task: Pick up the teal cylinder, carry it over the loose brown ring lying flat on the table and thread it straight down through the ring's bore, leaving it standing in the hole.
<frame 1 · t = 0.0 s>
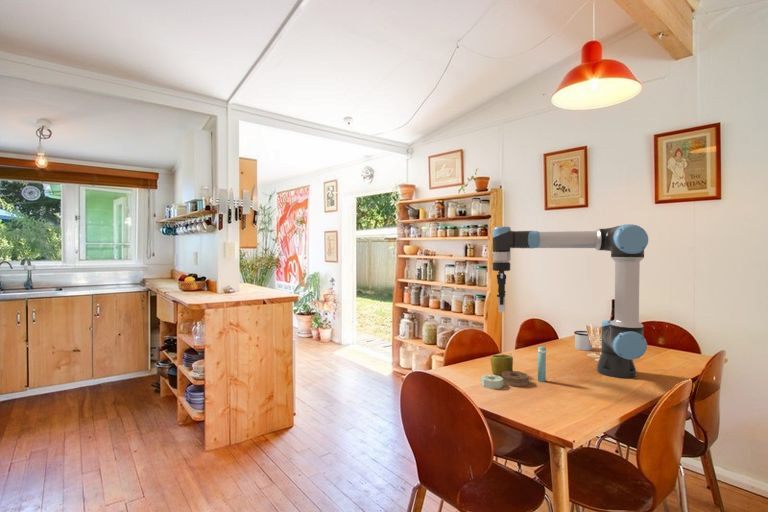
hand: (501, 309, 178), 28 cm above the table, fingers open, 13 cm apart
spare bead: (491, 385, 163), on the table
teal cylinder: (541, 380, 168), on the table
mug: (501, 373, 179), on the table
mug 2: (584, 349, 221), on the table
brown ring: (514, 382, 166), on the table
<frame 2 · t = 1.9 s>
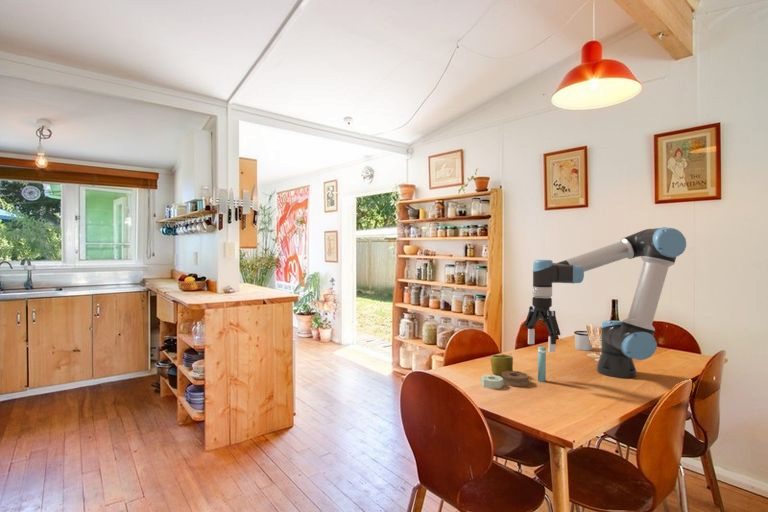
hand: (541, 347, 168), 14 cm above the table, fingers open, 13 cm apart
nothing on the table moved.
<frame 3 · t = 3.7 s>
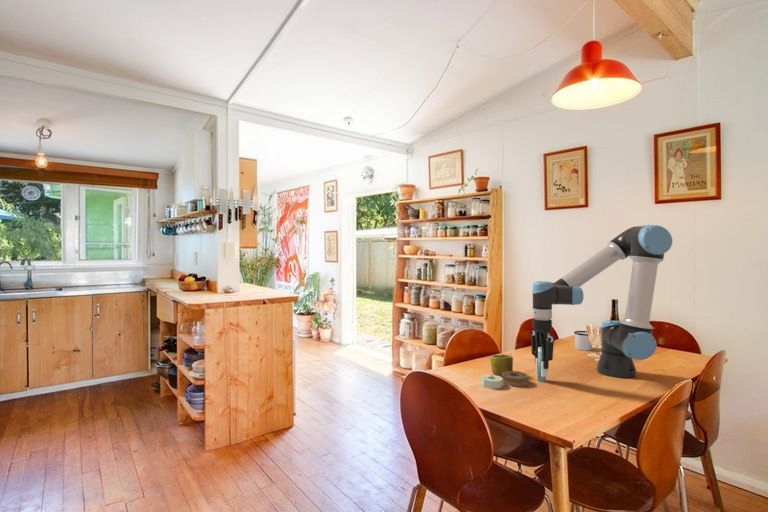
hand: (541, 374, 168), 3 cm above the table, fingers closed on teal cylinder, 3 cm apart
teal cylinder: (541, 380, 168), on the table, touching gripper
everything else where it was.
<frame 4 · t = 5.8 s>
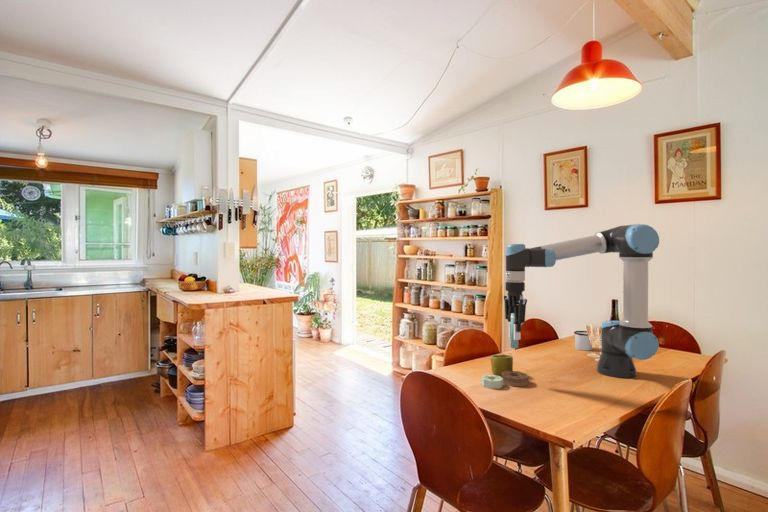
hand: (514, 338, 166), 18 cm above the table, fingers closed on teal cylinder, 3 cm apart
teal cylinder: (514, 347, 166), point 14 cm above the table, touching gripper
everything else where it was.
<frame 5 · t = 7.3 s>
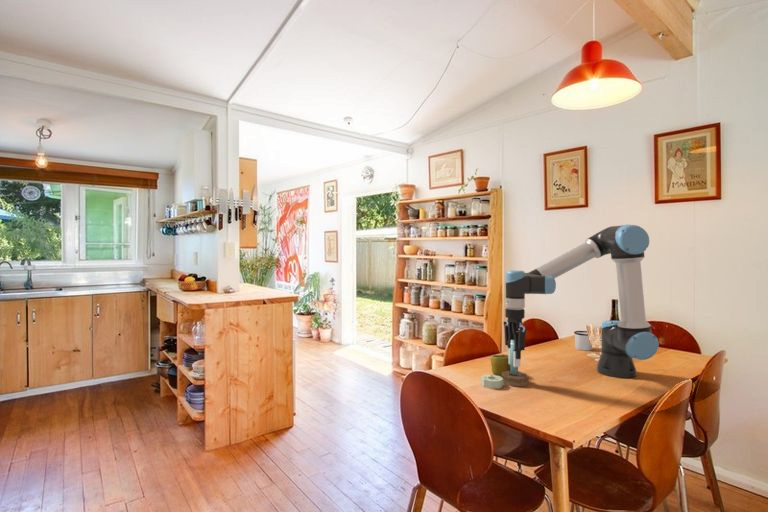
hand: (514, 365, 166), 7 cm above the table, fingers closed on teal cylinder, 3 cm apart
teal cylinder: (514, 374, 166), point 3 cm above the table, touching gripper
everything else where it was.
when the fingers open (5 cm above the table, at t = 7.9 s): teal cylinder stays where it is, resting in brown ring.
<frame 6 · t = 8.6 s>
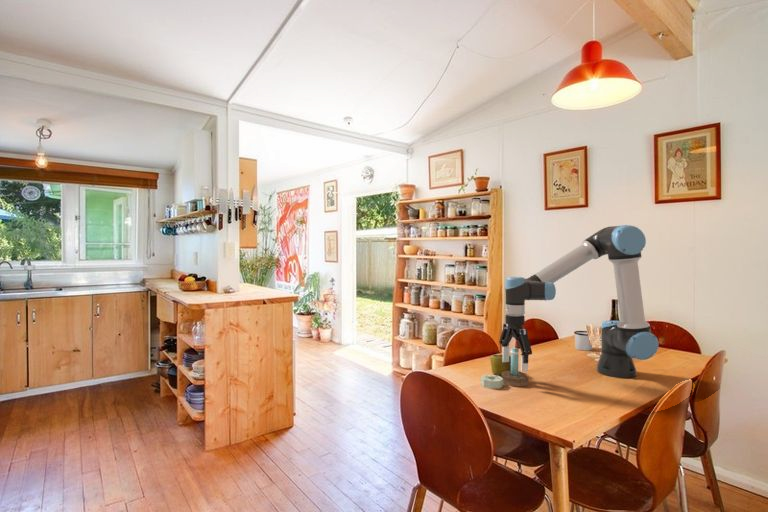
hand: (514, 366, 166), 7 cm above the table, fingers open, 13 cm apart
teal cylinder: (514, 382, 166), resting in brown ring
mug: (501, 373, 179), on the table, touching gripper
everything else where it was.
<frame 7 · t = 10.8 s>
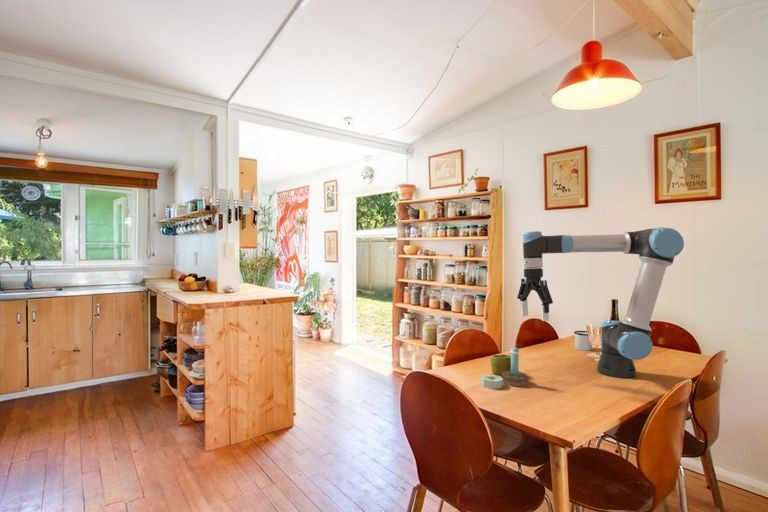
hand: (534, 318, 171), 26 cm above the table, fingers open, 13 cm apart
mug: (501, 373, 179), on the table
everything else where it was.
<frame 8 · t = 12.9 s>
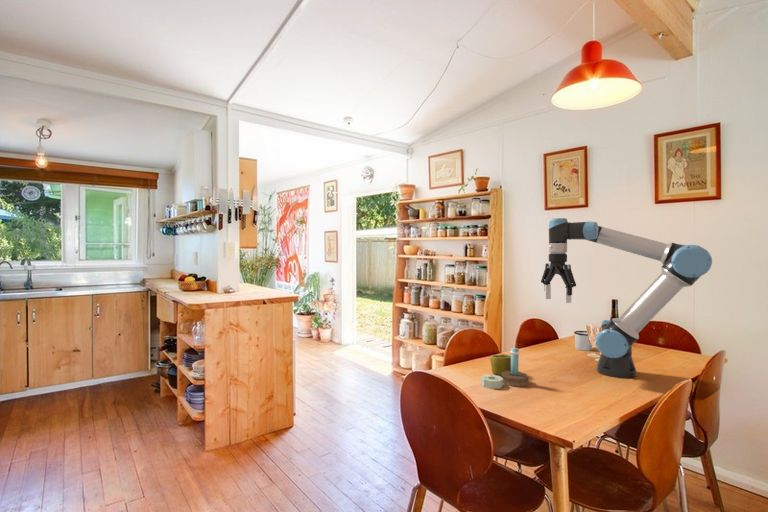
hand: (557, 300, 180), 32 cm above the table, fingers open, 13 cm apart
nothing on the table moved.
at the end: teal cylinder 0.0 cm off-centre on the brown ring, point 0.0 cm above the brown ring's base; teal cylinder tilted 0°; the gripper is holding nothing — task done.
